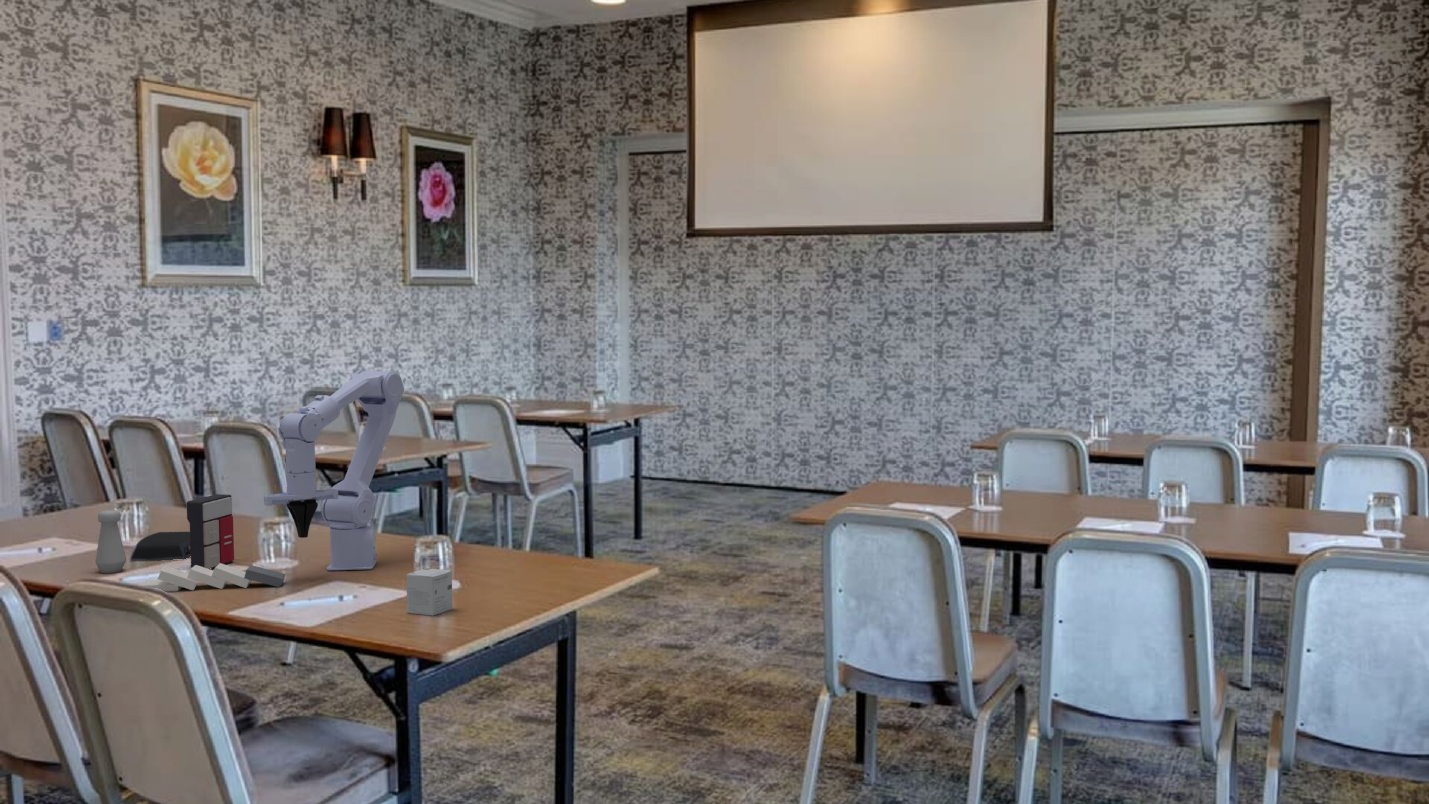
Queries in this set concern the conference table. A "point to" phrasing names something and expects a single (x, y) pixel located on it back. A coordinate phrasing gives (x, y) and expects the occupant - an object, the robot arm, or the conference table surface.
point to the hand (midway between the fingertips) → (302, 536)
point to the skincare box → (429, 591)
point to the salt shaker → (110, 543)
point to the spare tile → (264, 576)
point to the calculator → (211, 530)
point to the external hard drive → (162, 547)
